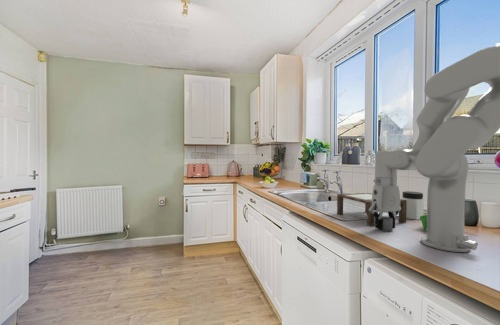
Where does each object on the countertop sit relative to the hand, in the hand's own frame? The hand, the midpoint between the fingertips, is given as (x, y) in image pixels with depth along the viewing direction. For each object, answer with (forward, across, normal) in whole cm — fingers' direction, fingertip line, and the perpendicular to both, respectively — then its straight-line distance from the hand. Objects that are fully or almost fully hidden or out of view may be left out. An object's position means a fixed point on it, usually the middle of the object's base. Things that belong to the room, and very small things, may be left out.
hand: (384, 227), depth 97 cm
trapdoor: (-8, +8, +17) cm, 20 cm away
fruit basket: (+1, +21, -5) cm, 22 cm away
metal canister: (+1, 0, 0) cm, 1 cm away
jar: (+1, +29, +13) cm, 32 cm away
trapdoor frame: (+1, +8, +17) cm, 19 cm away
